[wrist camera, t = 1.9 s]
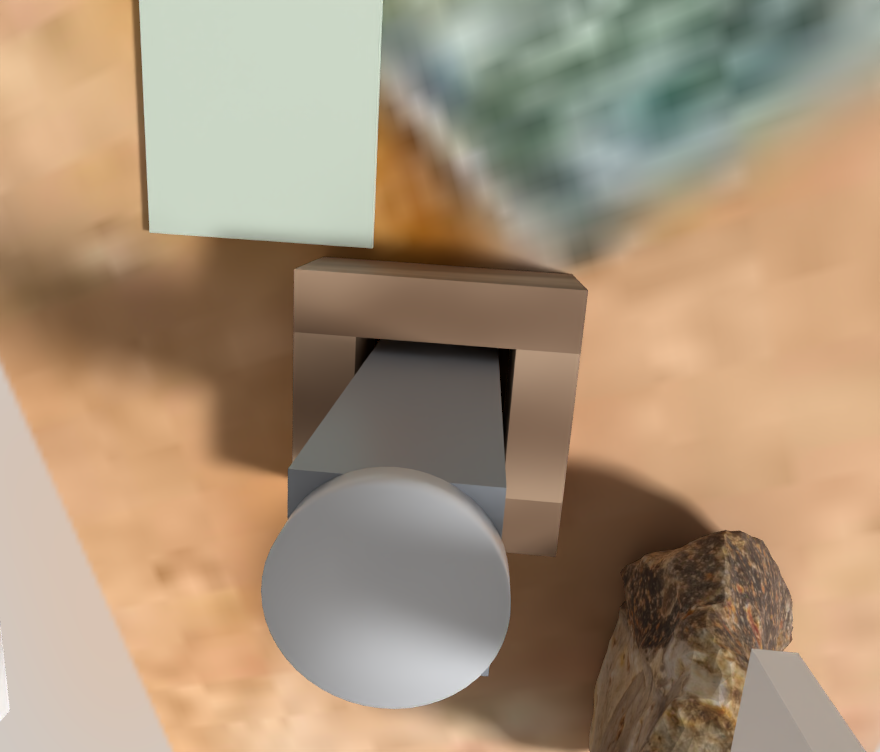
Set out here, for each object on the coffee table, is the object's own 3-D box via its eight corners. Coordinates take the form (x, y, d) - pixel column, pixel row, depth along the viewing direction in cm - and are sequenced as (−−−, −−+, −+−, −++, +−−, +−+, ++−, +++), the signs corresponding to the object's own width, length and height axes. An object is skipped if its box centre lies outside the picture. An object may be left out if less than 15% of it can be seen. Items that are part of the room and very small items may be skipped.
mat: (143, -14, 26) (138, -17, 26) (382, -1, 26) (381, -4, 25) (154, 232, 28) (149, 232, 28) (373, 247, 28) (371, 248, 28)
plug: (382, 321, 29) (260, 476, 13) (504, 331, 29) (522, 498, 13) (377, 435, 30) (261, 695, 15) (493, 445, 30) (499, 720, 14)
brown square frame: (323, 256, 28) (294, 268, 24) (572, 274, 28) (588, 290, 23) (319, 484, 31) (291, 532, 27) (546, 504, 30) (556, 557, 26)
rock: (726, 1009, 27) (939, 1088, 15) (535, 933, 29) (594, 951, 17) (746, 645, 36) (893, 512, 24) (597, 600, 37) (666, 455, 25)
